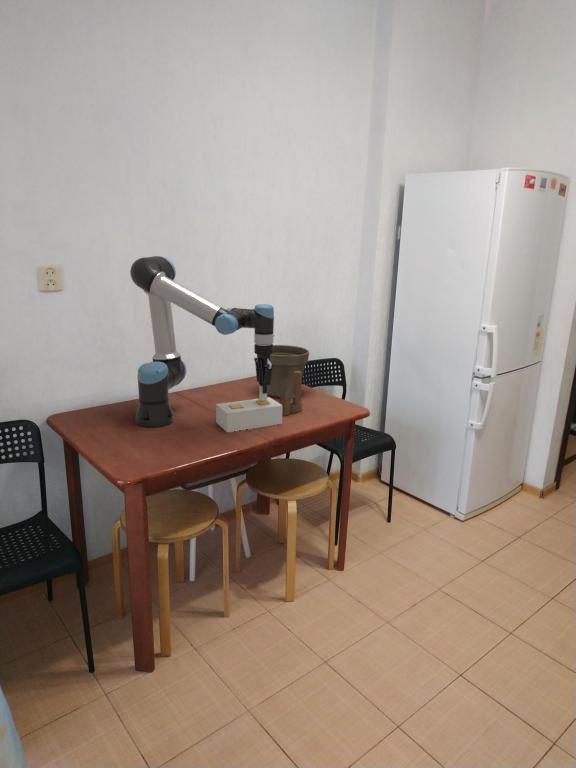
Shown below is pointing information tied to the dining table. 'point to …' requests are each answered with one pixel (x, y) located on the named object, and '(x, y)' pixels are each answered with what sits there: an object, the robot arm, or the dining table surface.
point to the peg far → (262, 402)
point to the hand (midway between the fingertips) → (263, 400)
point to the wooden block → (291, 395)
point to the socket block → (248, 415)
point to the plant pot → (285, 366)
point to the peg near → (235, 406)
